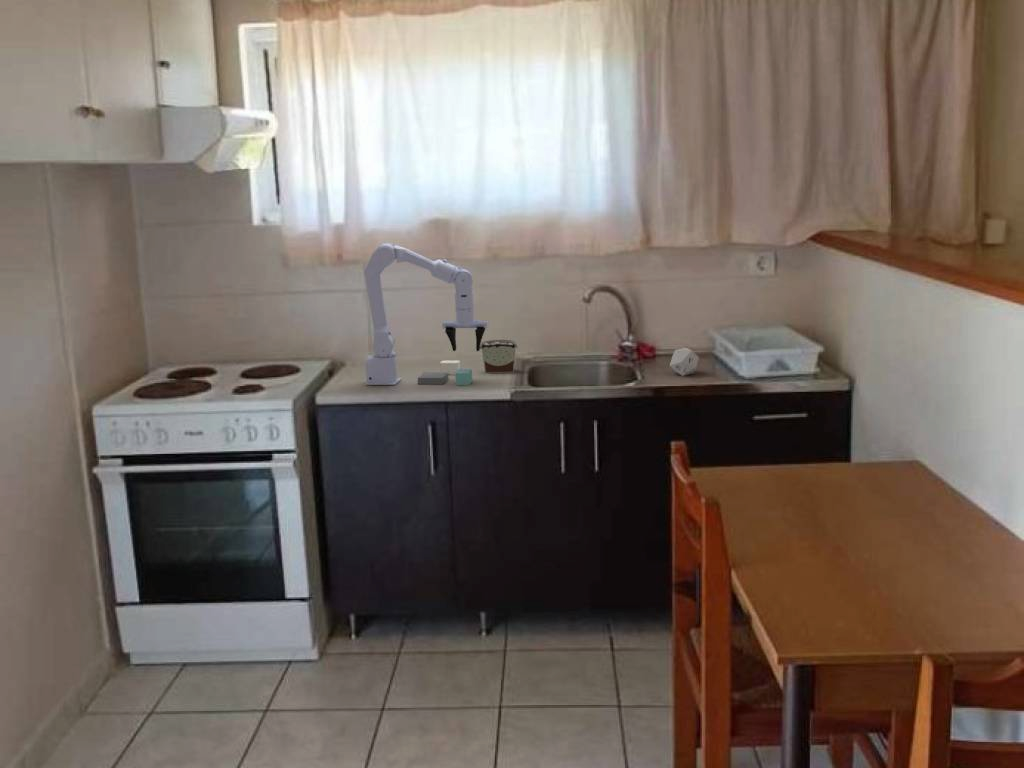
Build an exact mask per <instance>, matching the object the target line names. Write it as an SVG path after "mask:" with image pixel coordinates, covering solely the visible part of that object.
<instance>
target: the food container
mask: <svg viewBox="0 0 1024 768" xmlns="http://www.w3.org/2000/svg"><path fill="white" fill-rule="evenodd" d="M516 349H518V345H517V342H516V341H515V340H512V339H490V340H485V341H483V342H482V341H481V344H480V350H481V352H482V359H483V364H484V365H483V366H484V373H485V374H492V373H493V374H494V373H495V374H501V372H502V373H503V374H504V373H506V372H507V373H508V374H510V372H515V357H516Z"/></svg>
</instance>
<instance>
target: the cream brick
mask: <svg viewBox="0 0 1024 768" xmlns="http://www.w3.org/2000/svg"><path fill="white" fill-rule="evenodd" d="M461 367H462V366H461V360H450V359H449V360H441V361H440V363H439V372H448V376H449V375H454V376H456V372H457V371H458V370H459V369H462V368H461Z"/></svg>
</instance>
